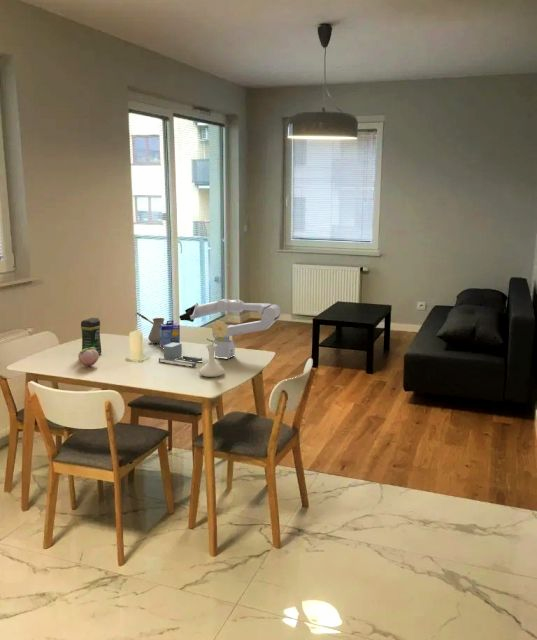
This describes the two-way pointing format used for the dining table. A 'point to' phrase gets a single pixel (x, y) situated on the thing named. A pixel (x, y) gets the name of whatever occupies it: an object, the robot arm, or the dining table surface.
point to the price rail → (182, 361)
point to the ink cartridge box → (169, 333)
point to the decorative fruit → (88, 356)
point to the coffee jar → (91, 334)
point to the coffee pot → (154, 328)
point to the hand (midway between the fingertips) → (183, 315)
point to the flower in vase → (212, 367)
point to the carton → (173, 350)
